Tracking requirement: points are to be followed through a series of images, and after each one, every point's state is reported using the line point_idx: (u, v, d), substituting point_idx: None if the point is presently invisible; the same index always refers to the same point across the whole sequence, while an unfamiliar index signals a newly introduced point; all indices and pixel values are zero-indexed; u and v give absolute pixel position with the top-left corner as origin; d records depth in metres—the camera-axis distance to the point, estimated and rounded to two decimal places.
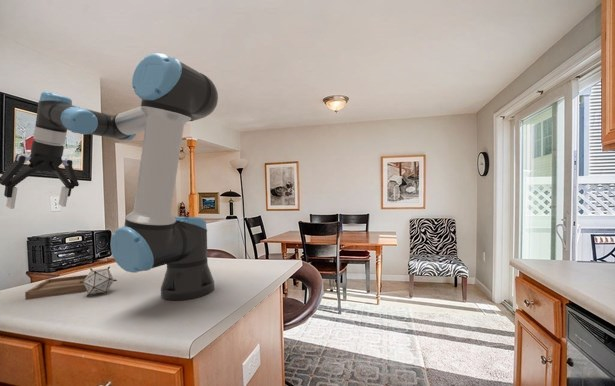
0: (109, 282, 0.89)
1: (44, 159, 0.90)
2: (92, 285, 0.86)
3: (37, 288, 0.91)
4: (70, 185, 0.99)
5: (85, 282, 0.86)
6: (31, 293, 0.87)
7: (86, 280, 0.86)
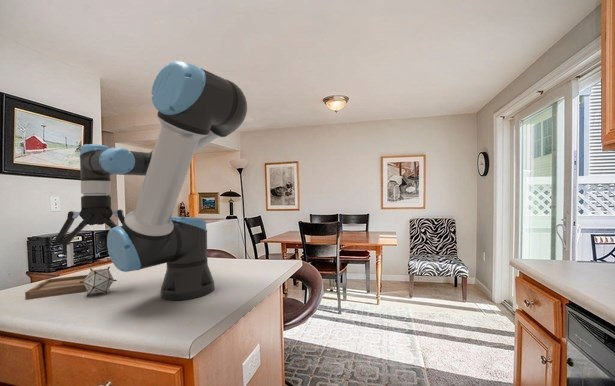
0: (109, 282, 0.89)
1: (91, 212, 0.88)
2: (92, 285, 0.86)
3: (37, 288, 0.91)
4: None
5: (85, 282, 0.86)
6: (31, 293, 0.87)
7: (86, 280, 0.86)
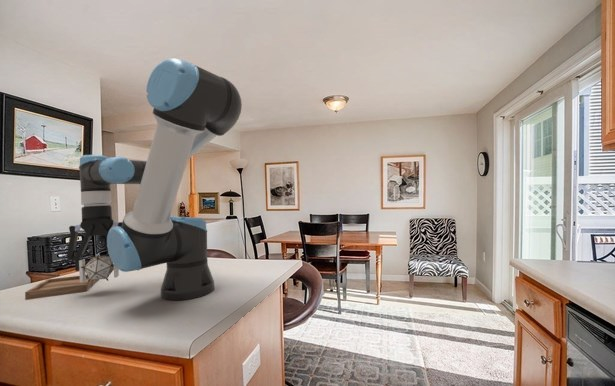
0: (110, 269, 0.89)
1: (91, 221, 0.88)
2: (94, 271, 0.85)
3: (37, 288, 0.91)
4: None
5: (87, 268, 0.86)
6: (31, 293, 0.87)
7: (88, 266, 0.86)
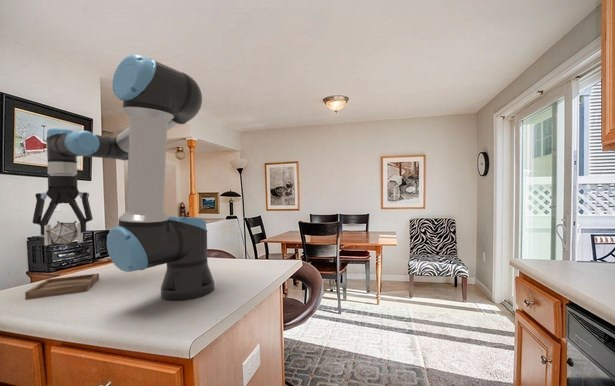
0: (74, 234, 0.96)
1: (57, 189, 0.95)
2: (58, 235, 0.93)
3: (37, 288, 0.91)
4: (81, 220, 0.97)
5: (51, 232, 0.93)
6: (31, 293, 0.87)
7: (52, 230, 0.93)
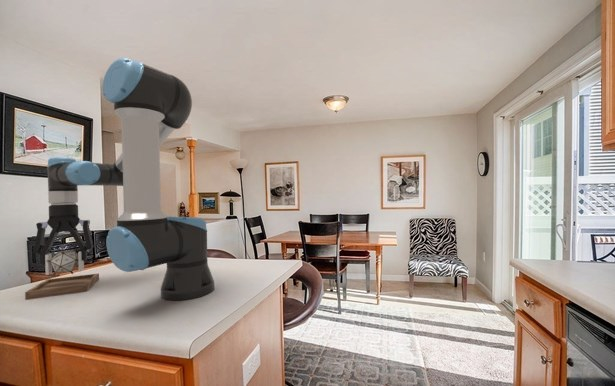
0: (75, 263, 0.96)
1: (58, 218, 0.95)
2: (59, 265, 0.93)
3: (37, 288, 0.91)
4: (82, 248, 0.97)
5: (52, 261, 0.93)
6: (31, 293, 0.87)
7: (53, 259, 0.93)
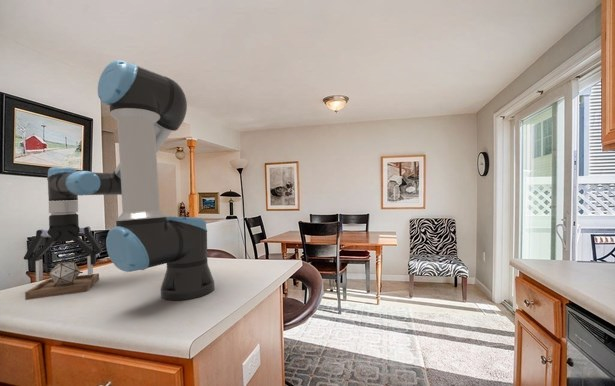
0: (75, 274, 0.96)
1: (59, 230, 0.95)
2: (59, 276, 0.92)
3: (37, 288, 0.91)
4: (91, 252, 0.98)
5: (51, 274, 0.93)
6: (31, 293, 0.87)
7: (52, 272, 0.93)
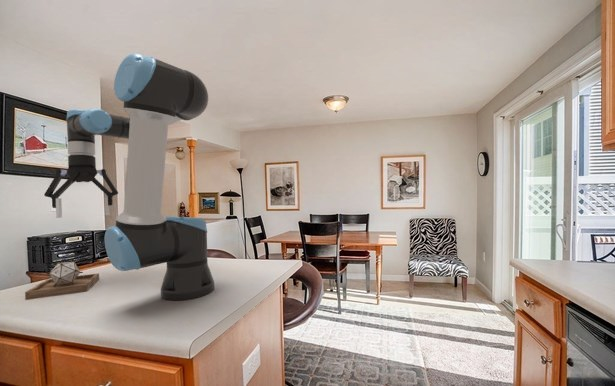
0: (75, 274, 0.96)
1: (78, 170, 0.99)
2: (59, 276, 0.92)
3: (37, 288, 0.91)
4: (108, 193, 1.02)
5: (51, 274, 0.93)
6: (31, 293, 0.87)
7: (52, 272, 0.93)
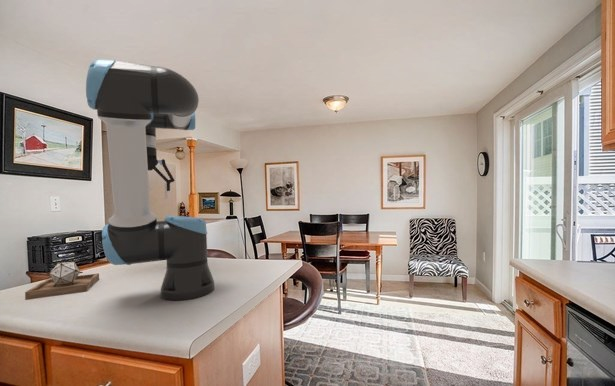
0: (75, 274, 0.96)
1: None
2: (59, 276, 0.92)
3: (37, 288, 0.91)
4: (167, 180, 1.18)
5: (51, 274, 0.93)
6: (31, 293, 0.87)
7: (52, 272, 0.93)
